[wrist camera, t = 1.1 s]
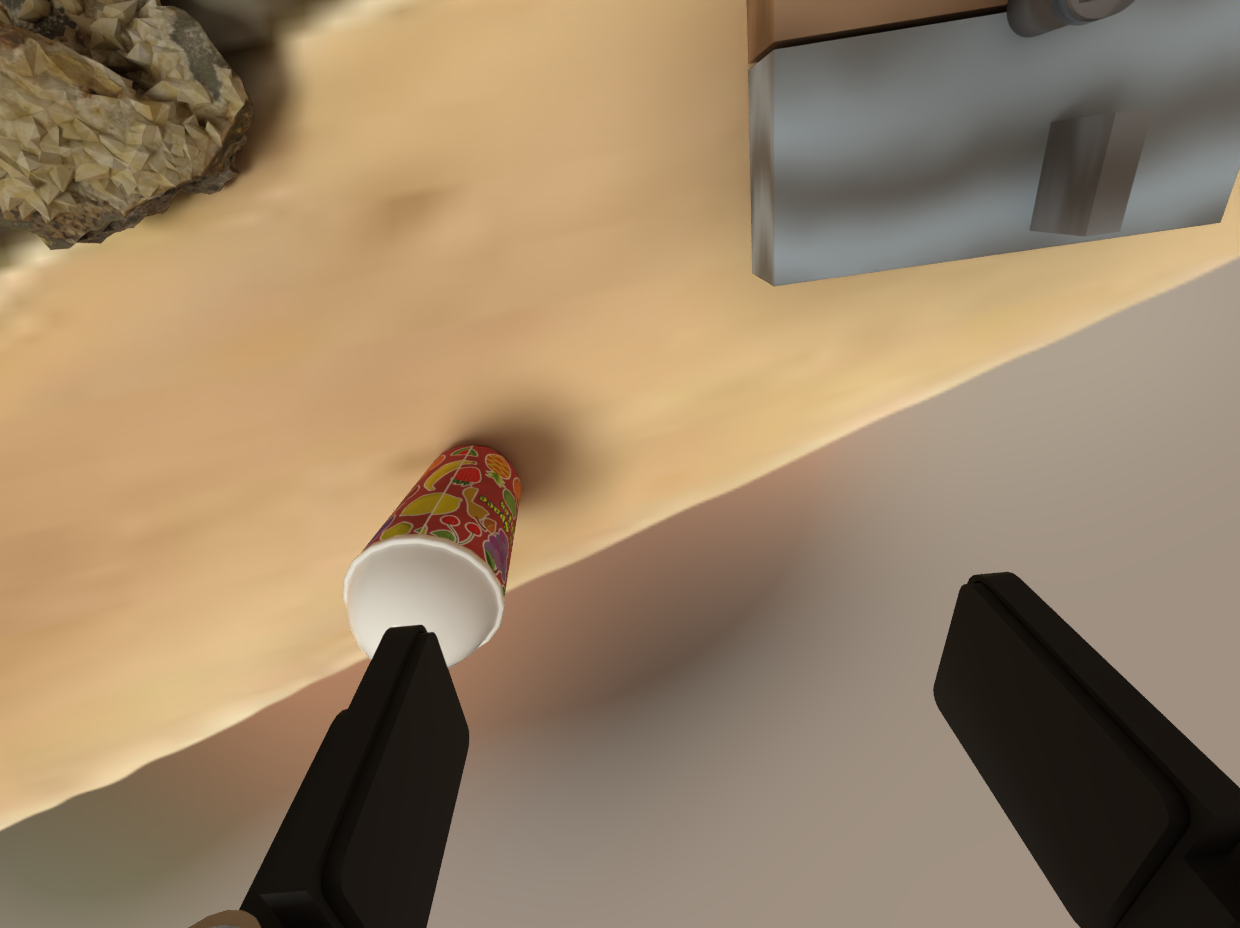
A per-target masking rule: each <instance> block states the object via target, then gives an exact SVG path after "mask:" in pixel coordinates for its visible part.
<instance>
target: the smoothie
mask: <svg viewBox="0 0 1240 928" xmlns="http://www.w3.org/2000/svg"><path fill="white" fill-rule="evenodd" d="M520 495H521V485H520V480H519V476H518V474H517V473H516V471H515V469H514V468H513V466H512V465H511V464H510V463H509V461H508V460H507V459H506V458H505V457H504V456H502V455H501V454H500V453H499V452H497V451H495V450H493V449H491V448H489V447H484V446H479V445H470V446H460V447H455V448H453V449H450V450H448V451H446V452H444V453H443V454H441V455H440V456H439V457H438V458H437V459H436V460H435V461H434V462H433V463H432V465H431V466H430V467H429V468H428V470H427V471H426V472H425V473H424V475H423V476H422V477H421V478H420V480H419V481H418V482H417V483H416V485H415V486H414V487H413V488H412V490H411V491H410V492H409V493H408V495H407V496H406V497H405V498H404V500H403V501H402V502H401V503H400V505H399V506H398V507H397V508H396V510H395V511H394V512H393V513H392V515H391V516H390V517H389V518H388V520H387V521H386V522H385V523H384V525H383V526H382V527H381V528H380V530H379V531H378V532H377V533H376V535H375V536H374V537H373V538H372V540H371V541H370V542H369V543H368V545H367V546H366V547H365V548H364V550H363V551H362V552H361V554H359V555H358V556H357V557H356V558H355V559H354V560H353V561H352V563H351V565H350V567H349V569H348V571H347V573H346V575H345V577H344V589H343V599H344V601H345V604H346V606H347V620H348V623H349V626H350V629H351V631H352V634H353V636H354V639H355V641H356V643H357V644H358V646H359V647H360V648H361V649H362V651H363V652H364V653H365V654H366V655H367V656H368V658H369V659H371V660H372V658H373V656H374V653H375V651H376V649H377V647H378V645H379V643H380V641H381V639H382V637H383V635H384V633H385V632H386V630H387V629H388V628H390V627H400V626H412V625H423V626H424V627H425V628H426V630H427V632H434V633H435V634H436V636H437V638H438V641H439V644H440V647H441V650H442V653H443V656H444V659H445V661H446V664H447V667H448V668H450V667H452V666H454V665H455V664H457V663H459V662H460V661H461V660H463V659H465V658H466V657H468V656H469V655H470V654H472V653H473V652H474V651H475V650H476V649H477V648H479V647H480V646H482V645H483V644H485V643H486V642H488V641H489V640H490V639H491V638H492V636H493V635H494V633H495V632H496V631H497V629H498V628H499V626H500V625H501V621H502V617H503V612H504V608H505V601H504V596H505V590H506V584H507V577H508V571H509V564H510V558H511V552H512V545H513V539H514V533H515V526H516V520H517V513H518V507H519V501H520Z"/></svg>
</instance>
